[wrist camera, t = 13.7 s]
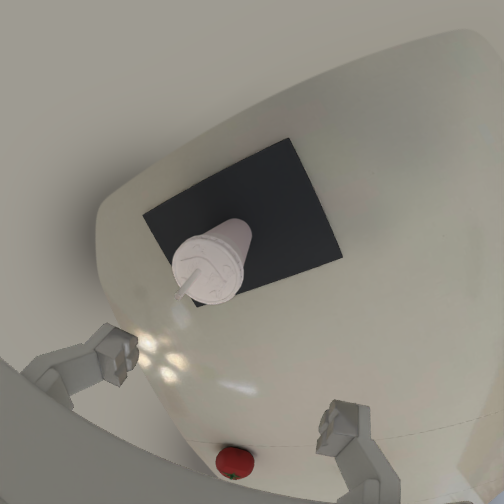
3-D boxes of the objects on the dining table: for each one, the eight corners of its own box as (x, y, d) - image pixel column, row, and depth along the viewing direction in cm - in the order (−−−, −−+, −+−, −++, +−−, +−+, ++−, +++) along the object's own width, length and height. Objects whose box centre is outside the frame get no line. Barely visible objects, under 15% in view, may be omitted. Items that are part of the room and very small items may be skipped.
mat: (288, 137, 29) (288, 137, 29) (342, 256, 33) (342, 257, 33) (144, 214, 37) (142, 215, 37) (198, 305, 41) (196, 307, 40)
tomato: (261, 450, 53) (253, 478, 47) (250, 463, 57) (242, 489, 50) (224, 438, 54) (213, 466, 48) (217, 452, 58) (207, 477, 51)
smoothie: (221, 196, 33) (158, 245, 21) (274, 224, 33) (239, 290, 21) (201, 243, 36) (139, 308, 24) (249, 269, 36) (207, 347, 24)
